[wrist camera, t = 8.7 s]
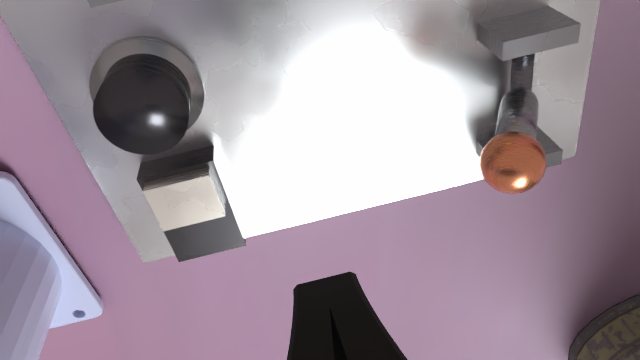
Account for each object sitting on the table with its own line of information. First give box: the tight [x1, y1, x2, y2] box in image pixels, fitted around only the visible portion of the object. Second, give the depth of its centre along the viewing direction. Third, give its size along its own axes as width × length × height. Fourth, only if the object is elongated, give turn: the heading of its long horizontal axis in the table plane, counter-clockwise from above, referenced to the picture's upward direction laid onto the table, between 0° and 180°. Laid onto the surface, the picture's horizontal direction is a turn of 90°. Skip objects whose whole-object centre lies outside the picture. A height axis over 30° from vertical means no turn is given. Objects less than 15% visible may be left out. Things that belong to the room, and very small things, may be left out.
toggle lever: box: [479, 53, 546, 194], centre depth 15 cm, size 2×3×5 cm, turn 11°
